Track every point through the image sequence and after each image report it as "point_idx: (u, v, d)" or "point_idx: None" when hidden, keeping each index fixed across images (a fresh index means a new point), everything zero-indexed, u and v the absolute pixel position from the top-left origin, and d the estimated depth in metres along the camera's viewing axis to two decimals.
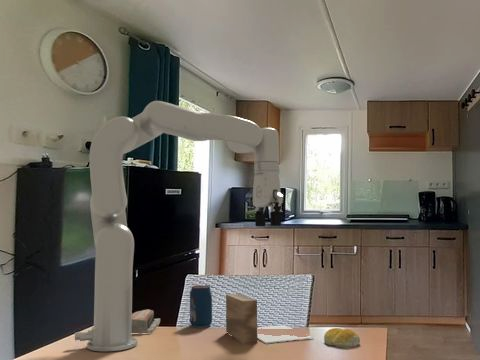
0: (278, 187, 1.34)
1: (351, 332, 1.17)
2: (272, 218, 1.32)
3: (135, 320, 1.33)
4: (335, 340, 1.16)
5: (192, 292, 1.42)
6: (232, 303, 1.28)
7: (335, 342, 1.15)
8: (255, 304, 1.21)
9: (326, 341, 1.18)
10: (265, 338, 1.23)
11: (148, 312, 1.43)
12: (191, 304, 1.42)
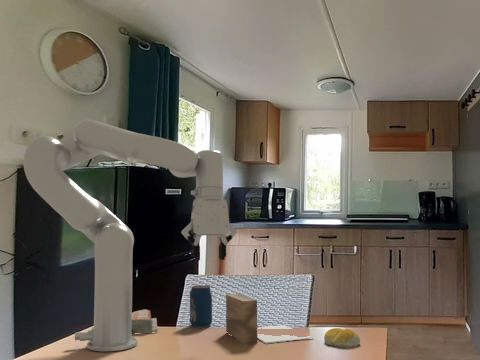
0: None
1: (351, 332, 1.17)
2: None
3: (140, 320, 1.33)
4: (335, 340, 1.16)
5: (192, 292, 1.42)
6: (232, 303, 1.28)
7: (335, 342, 1.15)
8: (255, 304, 1.21)
9: (326, 341, 1.18)
10: (265, 338, 1.23)
11: (147, 312, 1.44)
12: (191, 304, 1.42)
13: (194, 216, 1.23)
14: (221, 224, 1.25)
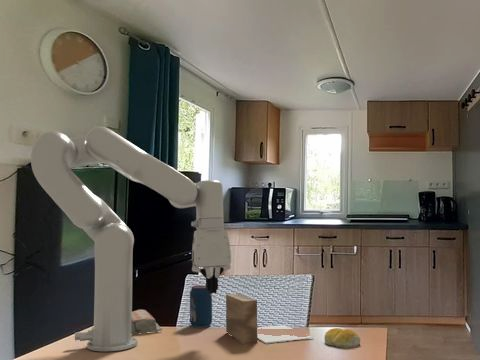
0: None
1: (351, 332, 1.17)
2: None
3: (144, 320, 1.33)
4: (335, 340, 1.16)
5: (192, 292, 1.42)
6: (232, 303, 1.28)
7: (335, 342, 1.15)
8: (255, 304, 1.21)
9: (326, 341, 1.18)
10: (265, 338, 1.23)
11: (146, 312, 1.44)
12: (191, 304, 1.42)
13: (195, 248, 1.22)
14: (223, 255, 1.24)
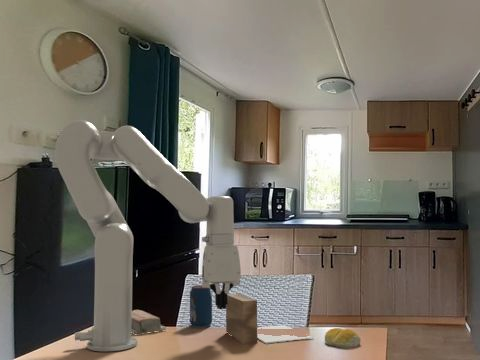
0: None
1: (352, 332, 1.17)
2: None
3: (150, 319, 1.34)
4: (335, 341, 1.16)
5: (192, 292, 1.42)
6: (232, 303, 1.28)
7: (336, 342, 1.15)
8: (255, 304, 1.21)
9: (327, 341, 1.18)
10: (265, 338, 1.23)
11: (144, 312, 1.44)
12: (191, 304, 1.42)
13: (205, 264, 1.23)
14: (233, 271, 1.25)
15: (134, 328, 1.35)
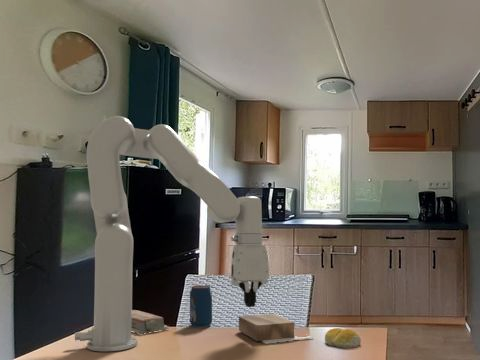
0: None
1: (352, 332, 1.17)
2: None
3: (154, 318, 1.35)
4: (336, 340, 1.15)
5: (192, 292, 1.42)
6: (276, 317, 1.32)
7: (336, 342, 1.15)
8: (291, 336, 1.24)
9: (327, 341, 1.18)
10: None
11: (142, 312, 1.44)
12: (191, 304, 1.42)
13: (235, 263, 1.26)
14: (261, 270, 1.28)
15: (137, 328, 1.35)
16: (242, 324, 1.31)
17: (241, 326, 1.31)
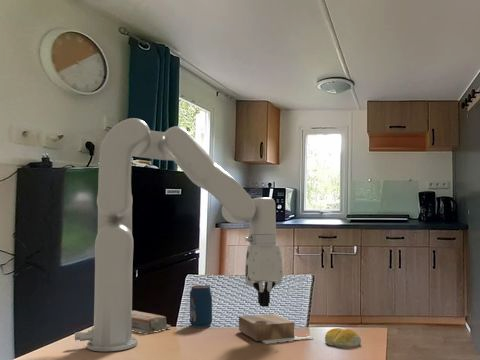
0: None
1: (352, 332, 1.17)
2: None
3: (157, 318, 1.36)
4: (336, 340, 1.15)
5: (192, 292, 1.42)
6: (276, 317, 1.32)
7: (336, 342, 1.15)
8: (291, 336, 1.24)
9: (327, 341, 1.18)
10: None
11: (141, 312, 1.44)
12: (191, 304, 1.42)
13: (250, 263, 1.27)
14: (275, 270, 1.29)
15: (140, 328, 1.35)
16: (242, 324, 1.31)
17: (241, 326, 1.31)
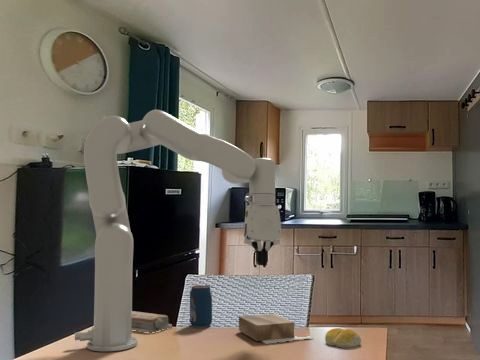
0: None
1: (352, 332, 1.17)
2: None
3: (160, 317, 1.37)
4: (336, 341, 1.15)
5: (192, 292, 1.42)
6: (276, 317, 1.32)
7: (336, 342, 1.15)
8: (291, 336, 1.24)
9: (327, 341, 1.18)
10: None
11: (139, 312, 1.44)
12: (191, 304, 1.42)
13: (249, 221, 1.29)
14: (274, 229, 1.30)
15: (143, 328, 1.35)
16: (242, 324, 1.31)
17: (241, 326, 1.31)
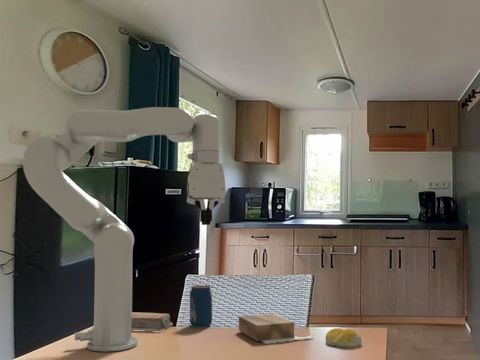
0: None
1: (353, 332, 1.17)
2: None
3: (165, 316, 1.39)
4: (336, 341, 1.15)
5: (192, 292, 1.42)
6: (276, 317, 1.32)
7: (337, 342, 1.15)
8: (291, 336, 1.24)
9: (328, 341, 1.17)
10: None
11: (136, 312, 1.44)
12: (191, 304, 1.42)
13: (190, 179, 1.24)
14: (217, 187, 1.26)
15: (149, 327, 1.36)
16: (242, 324, 1.31)
17: (241, 326, 1.31)
